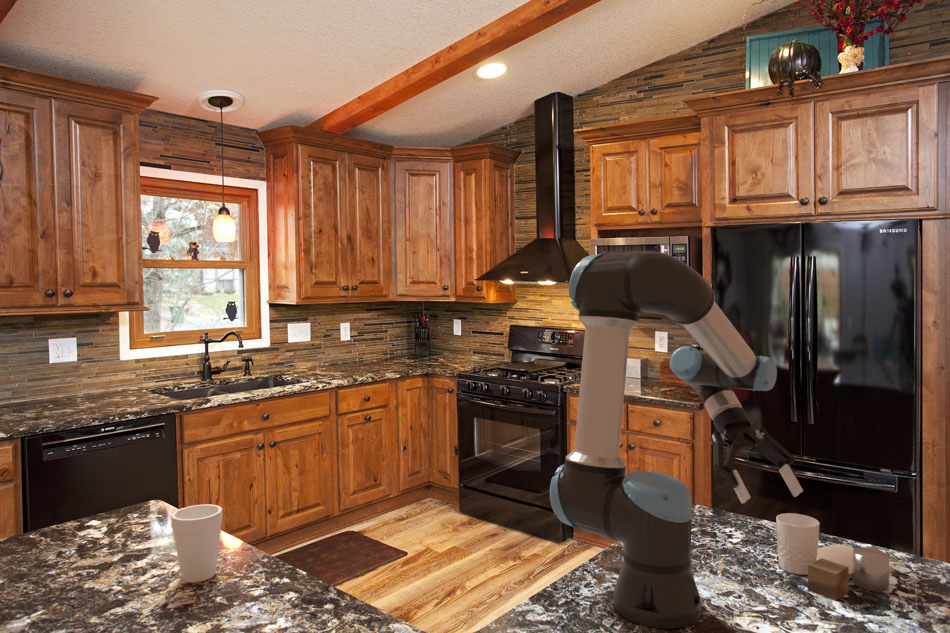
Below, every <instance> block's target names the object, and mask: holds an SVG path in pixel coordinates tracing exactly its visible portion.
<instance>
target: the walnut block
mask: <svg viewBox="0 0 950 633" xmlns="http://www.w3.org/2000/svg"><path fill="white" fill-rule="evenodd" d="M849 580H850V579H849V567H847V566H844V565H841V564H838V563H835V562H832V561H829V560H826V559H822V558H821V559H819V560H817V561H815V562H813V563H811V564H809V565H808V575H807V581H808V582H807V591H808V592H811V593H814V594H817V595H820V596H822V597H825V598H827V599H831V600H833V601H835V602H836V601H837V600H839V599H840V598H842V597H844V596H845V595H847V594H849Z"/></svg>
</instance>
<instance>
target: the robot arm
mask: <svg viewBox="0 0 950 633" xmlns="http://www.w3.org/2000/svg"><path fill="white" fill-rule="evenodd" d="M568 296H569V298H570V303H571V305H572V307H573V308H574V309H575V310H577V311H578V320H579V321H580V323H581V324H582V325H583V326H584V329H585V330H584V340H583V348H582V349H583V350H582V361H581V370H580V371H581V372H580V381H579V382H580V383H579V395H578V406H577V415H576V416H577V418H576V425H575V426H576V427H575V437H574V438H575V439H574V448H573V450H572V451H570V453H569V454H567V455H566V456H565V459H564V460H565V461H564V464H561V465H560V466H558V467H557V468H556V470H555V472H554V476H552V478H551V480H550V486H549V500H550V505H551V508H552V511H553V513H554V514H555V516H556V517H557V519H558V520H560V522H561V523H563V524H564V525H567V526H570V527H573V528H574V529H576V530H578V531H582V532H583V531H584V532H588V533H591V534H595V535H598V536H601V537H605V538H608V539H611V540H615V541H618V542H621V543H623V562H622V565H621V568H620V571H619V574H618V577H617V580H616V584H615V586H614V589H613V606H614V609H615V610H616V611H617V612H618V614H620V616H622V617H623V618H625V619H627V620H628V621H630V622H633V623H636V624H638V625H641V626H644V627H645V626H646V627H650V628H655V629H671V630H673V629H681V628H684V627H688V626H692V625H693V624H695V623H697V622H698V621H699V619H700V618H701V616H702V599H701V596H700V593H699V590H698V586H697V583H696V581H695V577H694V573H693V572H692V517H693V509H692V497H691V492H690V490H689V488H688V487H687V486H686V485H685V483H683V482H682V481H681V480H680V479H677V478H676V477H674V476H671V475H669V474H665V473H661V472H658V471H648V470H644V469H643V470H632V471H630V472H627V473H626V471H627V470H626V469H627V464H626V462H625V461H624V460H623V458H622V457H621V456H620V446H621V435H622V426H623V425H622V422H623V413H624V412H623V411H624V402H625V401H624V400H625V390H626V388H625V387H626V376H627V375H626V374H627V367H628V355H629V354H628V353H629V342H630V332H631V331H632V330H633V329H634V328H635V327H637V325H639V320H640V319H639V318H640V314H657V315H662V316H663V315H664V316H666V317H667V318H668V319H669V320H671V322H673V323H675V324H677V325H680V326H683V328H685V330H686V331H687V332H688V333H689V334H690V336H691V337H692V338H693V339H694V341H696V342H697V343H698V344H699V345H700V347H701V348H702V349H703V350H704V352H701V351H700V350H698V349H697V348H694V347H692V346H688V345H684V346H681V347H678V348H677V349H675V351H673V353H672V354H671V356H670V358H669V368H670V370H671V371H672V372H673V374H674V375H675V376H676V377H677V378H678V379H679V380H680V381H682V382H684V383H685V384H687V385H688V386H690V387H691V388H692V389H693V390H695V391H696V393H697V394H698V396H699V398H700V400H701V401H702V404H703V405H704V407H705V410H706V411H707V413H708V415H709V417H710V419H711V420H712V421H713V425H714V426H715V428H716V431H714V432H713V434H712V435H711V436H710V440H711V443H712V454H713V455H712V456H713V457H712V458H713V461H712V462H713V464H712V465H713V473H714V474H716V475H718V474H720V475H719V476H720V477H721V478H725V479H726V482H728V484H729V485H728V486H729V487H730V488H731V489H733V490H734V492H735V494H736V495H737V498H738V499H739V501H740V504H745V503H747V501H749V500H750V499H751V498H752V496H751V495H750V493H749V491H748V489H747V487H746V485H745V484H744V481H743V479H742V478H741V476H740V474H739V471H738V470H737V469H733V468H734V463H735V460H736V456H737V452H744V451H746V452H747V451H752V452H753V453H757V454H759V455H760V456H762V457H764V458H765V459H766V460H768V461H770V462H771V463H773V465H775V466H777V467H778V468H779V470H778V472H779V474H780V475H781V477H782V479H783V480H784V482H785V484H786V486H787V487H788V489H789V491H790V493H791V495H792V496H793V498H794V497H795V498H796V497H798V496H799V495H800V494H801V493H803V492H804V490H803V488H802V486H801V484H800V483H799V480H798V479H797V478H798V475H797V474H796V472H795V470H794V469H793V467H792V464H793V463H794V462H795V461H796V457H795V456H794V455H792V454H791V453H790V451H788V450H787V449H786V448H785V447H784V446H783V445H781V444H780V443H779V442H778V441H777V440H776V439H775V438H773V436H772V435H770V434H769V432H768V431H767V429H766V428H765V427H764V426H762V427H760V428H759V429H756V430H754V429H753V427H752V426H751V420H750V418H749V417H748V415H747V412H746V411H745V409H744V408H742V407H743V406H742V403H741V402H740V401H739V399H738V397H737V395H736V393H735V391H734V390H733V389H738V390H746V391H747V390H749V391H753V392H756V391H762V392H768V391H770V390H772V389H773V388H774V386H775V384H776V381H777V376H778V369H777V365H776V364H777V363H776V362H775V359H773V358H772V357H771V356H770V357H769V356H763V355H756V354H755V352H754V351H753V349H751V348H750V346H749V345H748V344H747V342H746V341H745V339H744V338H743V336H741V334H740V333H739V332H738V330H737V328H735V326H734V325H733V324H732V322H731V321H730V319H728V317H727V316H726V315H725V313H724V312H723V310H722V309H721V308H720V306H719V305H718V303H716V301H715V300H716V296H715V291H714V289H713V288H712V286H711V285H710V284H709V283H708V282H707V280H706V279H705V278H704V277H703V276H702V275H701V274H700V273H699V272H698V271H696V270H695V269H694V268H693V267H691V265H690V266H689V264H687V263H685V262H684V261H683V260H681V259H678V258H677V257H674V256H673V255H670V254H667V253H665V252H659V251H654V250H653V251H652V250H651V251H649V250H647V251H646V250H645V251H633V252H632V251H630V252H624V251H623V252H602V253H599V254H590V255H588V256H585V257H583V258H582V259H581V260H579V262H578V263H577V264H576V265H575V266H574V268H573V270H572V272H571V275H570V278H569V282H568ZM724 442H725V443H726V444H727V445H728V446H727V449H726V456H725V455H724ZM724 456H725V458H724Z"/></svg>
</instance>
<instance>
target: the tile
mask: <svg viewBox="0 0 950 633" xmlns="http://www.w3.org/2000/svg"><path fill="white" fill-rule="evenodd" d="M854 549H855V548H854V547H851V546H849V545H847V544H846V543H844V544H843V543H842V544H837V545H830V546H824V547H823V546H822V547H818V550H817V559H816V561H817V560H819V559H821V558H822V559H826V560H829V561H832V562H835V563H838V564H841V565H844V566H847V567H849V580H850V579H852V575H853V550H854ZM893 572H894V566H892V565H891V564H889V573H893Z"/></svg>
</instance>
